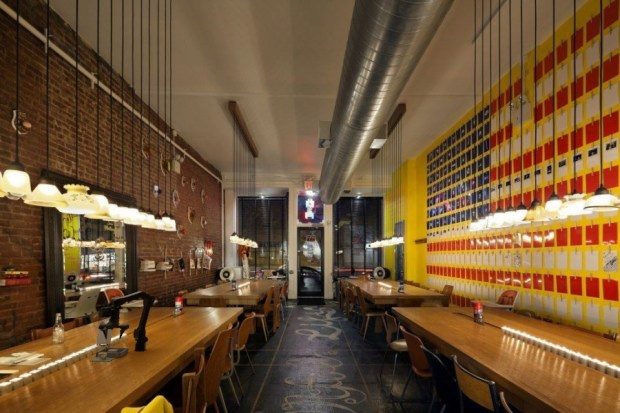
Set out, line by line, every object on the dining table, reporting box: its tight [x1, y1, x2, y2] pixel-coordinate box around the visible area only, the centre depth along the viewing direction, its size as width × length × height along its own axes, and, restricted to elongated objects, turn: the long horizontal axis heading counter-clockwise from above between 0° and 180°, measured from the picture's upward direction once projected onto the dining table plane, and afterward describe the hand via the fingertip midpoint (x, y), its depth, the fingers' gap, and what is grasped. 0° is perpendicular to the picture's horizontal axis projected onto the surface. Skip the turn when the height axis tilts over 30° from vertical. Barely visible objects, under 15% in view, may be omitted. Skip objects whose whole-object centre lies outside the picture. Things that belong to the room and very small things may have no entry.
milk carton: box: [95, 317, 113, 345], centre depth 293 cm, size 7×7×19 cm
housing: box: [95, 346, 130, 359], centre depth 268 cm, size 16×14×3 cm
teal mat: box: [89, 356, 114, 363], centre depth 255 cm, size 12×7×1 cm, turn 93°
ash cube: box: [97, 352, 108, 360], centre depth 255 cm, size 4×4×4 cm
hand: (113, 339), depth 266 cm, fingers open, 9 cm apart
